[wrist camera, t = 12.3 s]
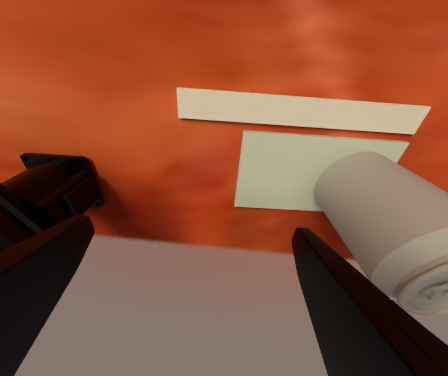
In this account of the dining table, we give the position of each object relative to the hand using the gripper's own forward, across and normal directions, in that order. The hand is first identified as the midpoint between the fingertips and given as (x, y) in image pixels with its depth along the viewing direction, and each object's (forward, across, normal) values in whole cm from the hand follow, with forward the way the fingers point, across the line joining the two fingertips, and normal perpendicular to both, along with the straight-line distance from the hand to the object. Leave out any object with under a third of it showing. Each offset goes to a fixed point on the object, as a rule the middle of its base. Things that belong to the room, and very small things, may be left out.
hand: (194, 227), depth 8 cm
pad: (+12, -11, +4) cm, 17 cm away
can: (+12, -15, +4) cm, 19 cm away
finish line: (+12, -8, -3) cm, 15 cm away
